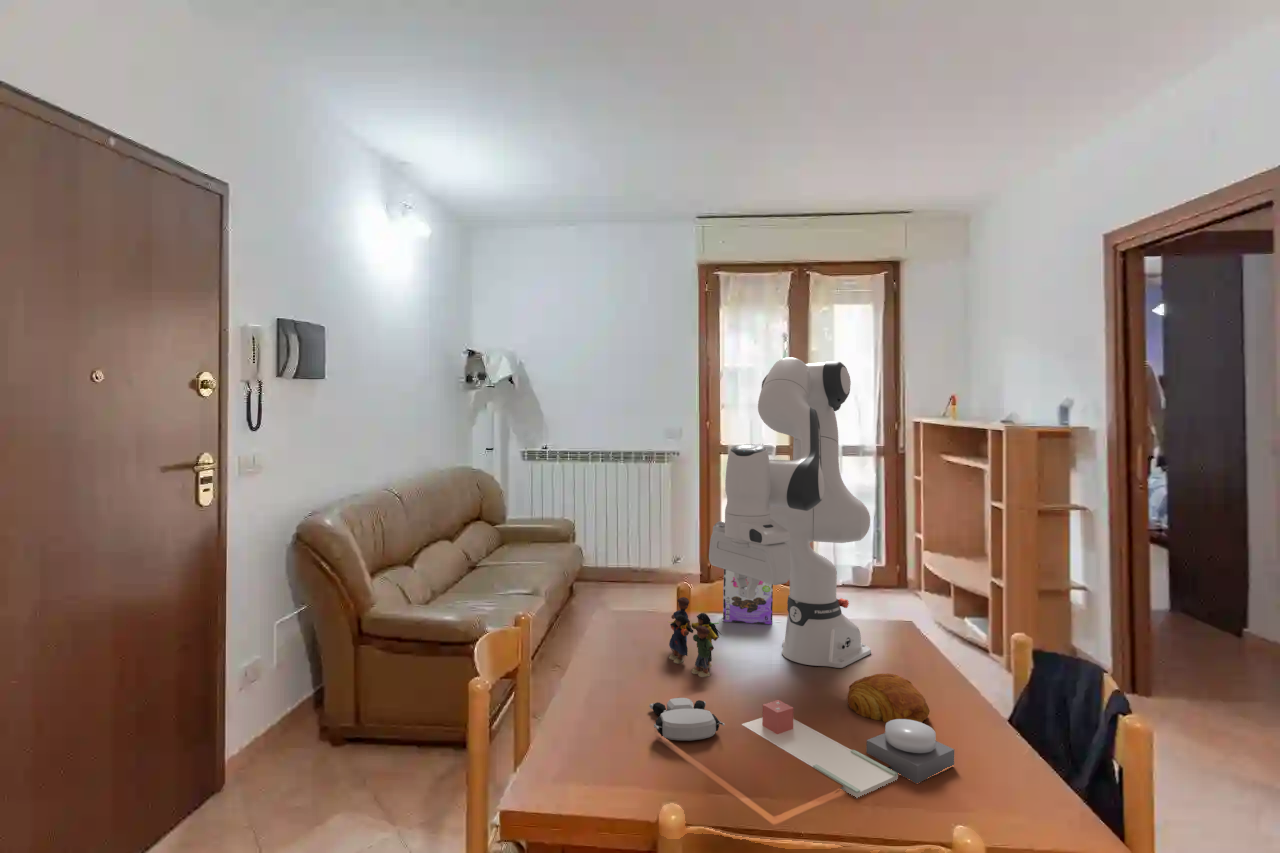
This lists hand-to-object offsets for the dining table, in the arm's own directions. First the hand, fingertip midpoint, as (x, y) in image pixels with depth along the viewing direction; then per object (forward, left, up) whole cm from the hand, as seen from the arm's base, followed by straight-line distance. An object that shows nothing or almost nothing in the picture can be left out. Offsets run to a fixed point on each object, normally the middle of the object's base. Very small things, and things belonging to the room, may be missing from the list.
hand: (746, 597), depth 135 cm
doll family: (-7, -28, -23) cm, 37 cm away
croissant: (-24, +15, -24) cm, 37 cm away
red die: (0, +9, -22) cm, 24 cm away
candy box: (-39, -44, -23) cm, 63 cm away
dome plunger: (-11, +29, -21) cm, 38 cm away
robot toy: (+15, -1, -24) cm, 28 cm away
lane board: (+2, +18, -23) cm, 29 cm away
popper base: (-11, +29, -23) cm, 39 cm away
